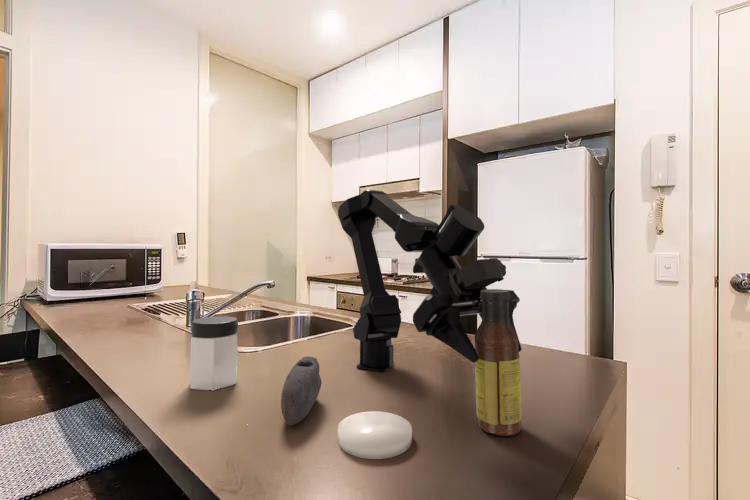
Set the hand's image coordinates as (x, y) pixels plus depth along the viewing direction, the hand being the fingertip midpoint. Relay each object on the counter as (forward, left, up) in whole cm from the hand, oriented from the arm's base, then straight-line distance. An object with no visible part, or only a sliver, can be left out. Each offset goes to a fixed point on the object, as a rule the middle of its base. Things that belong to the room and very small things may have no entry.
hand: (498, 356), depth 53 cm
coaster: (-15, -10, -10) cm, 21 cm away
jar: (-51, -3, -11) cm, 52 cm away
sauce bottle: (0, 0, -11) cm, 11 cm away
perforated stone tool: (-29, -7, -11) cm, 32 cm away
